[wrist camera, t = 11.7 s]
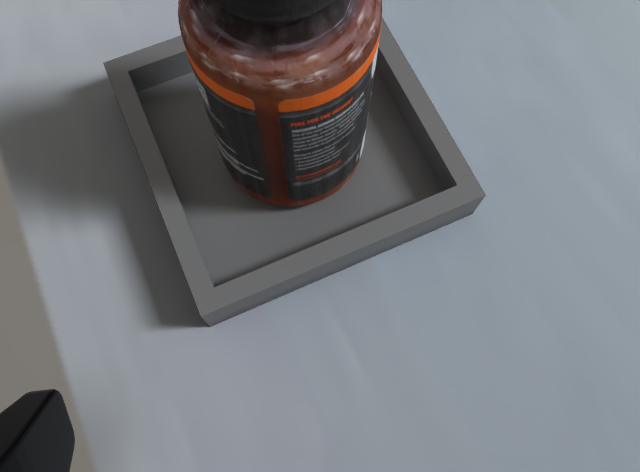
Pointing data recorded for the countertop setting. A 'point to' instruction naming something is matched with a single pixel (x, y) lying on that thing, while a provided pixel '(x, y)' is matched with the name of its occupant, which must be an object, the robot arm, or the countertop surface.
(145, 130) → the grey square tray
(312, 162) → the supplement bottle
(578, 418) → the countertop surface
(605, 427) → the countertop surface
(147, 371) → the countertop surface
